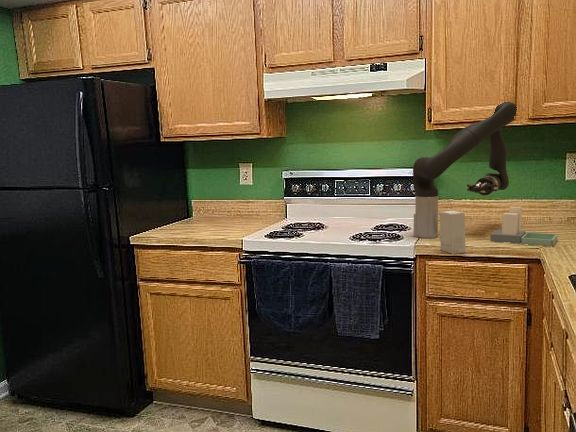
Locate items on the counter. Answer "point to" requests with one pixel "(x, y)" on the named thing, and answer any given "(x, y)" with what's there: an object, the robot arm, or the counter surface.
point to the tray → (539, 239)
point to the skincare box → (452, 231)
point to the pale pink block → (510, 223)
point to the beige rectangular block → (519, 211)
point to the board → (506, 237)
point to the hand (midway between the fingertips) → (476, 190)
